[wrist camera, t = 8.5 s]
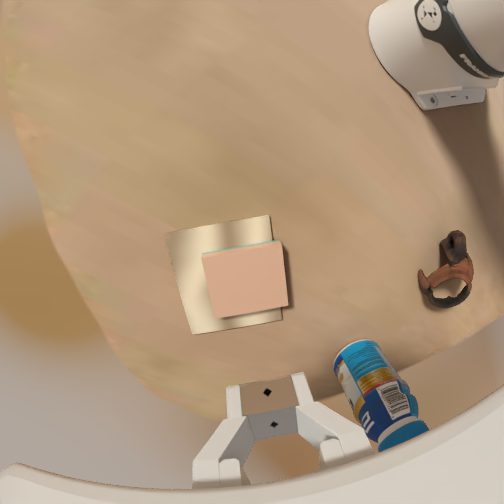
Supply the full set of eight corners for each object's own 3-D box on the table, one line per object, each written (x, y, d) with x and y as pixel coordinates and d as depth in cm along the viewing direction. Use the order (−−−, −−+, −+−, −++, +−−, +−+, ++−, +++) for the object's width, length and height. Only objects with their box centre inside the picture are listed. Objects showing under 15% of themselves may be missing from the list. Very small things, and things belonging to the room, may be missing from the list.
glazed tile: (281, 244, 32) (201, 258, 32) (288, 305, 35) (215, 318, 35) (278, 239, 34) (201, 253, 33) (285, 299, 37) (215, 311, 36)
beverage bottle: (387, 345, 43) (449, 431, 24) (355, 380, 45) (402, 470, 26) (354, 329, 40) (420, 430, 22) (320, 369, 42) (365, 473, 24)
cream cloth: (268, 214, 33) (269, 215, 33) (281, 318, 38) (281, 319, 38) (165, 233, 33) (164, 234, 32) (192, 332, 38) (192, 334, 37)
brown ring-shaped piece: (460, 272, 40) (471, 309, 35) (412, 275, 44) (417, 314, 38) (471, 214, 33) (489, 250, 28) (416, 216, 37) (427, 254, 31)
